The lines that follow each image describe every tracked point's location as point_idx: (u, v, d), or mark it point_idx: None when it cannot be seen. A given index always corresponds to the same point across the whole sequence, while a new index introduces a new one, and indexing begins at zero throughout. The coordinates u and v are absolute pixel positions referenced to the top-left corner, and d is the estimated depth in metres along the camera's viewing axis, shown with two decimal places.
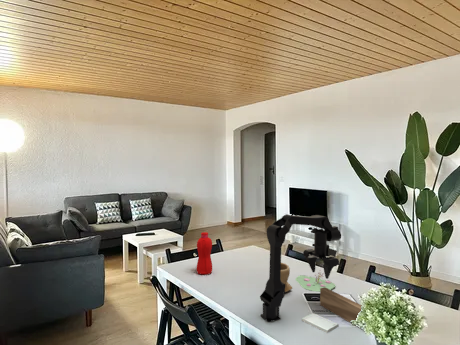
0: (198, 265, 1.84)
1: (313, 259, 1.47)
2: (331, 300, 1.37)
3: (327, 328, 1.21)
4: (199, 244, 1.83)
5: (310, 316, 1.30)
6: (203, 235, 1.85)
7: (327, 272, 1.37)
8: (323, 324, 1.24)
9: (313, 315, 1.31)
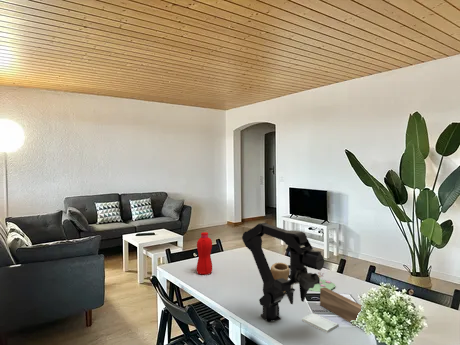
0: (198, 265, 1.84)
1: None
2: (331, 300, 1.37)
3: (327, 328, 1.21)
4: (199, 244, 1.83)
5: (310, 316, 1.30)
6: (203, 235, 1.85)
7: (288, 295, 1.20)
8: (323, 324, 1.24)
9: (313, 315, 1.31)
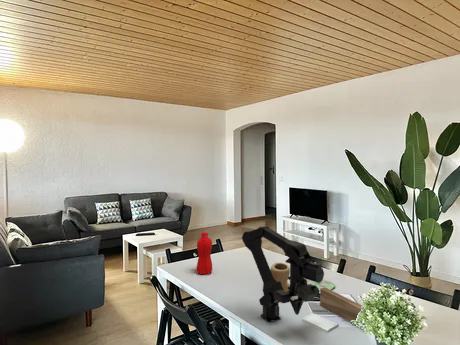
0: (198, 265, 1.84)
1: (298, 299, 1.21)
2: (331, 300, 1.37)
3: (327, 328, 1.21)
4: (199, 244, 1.83)
5: (310, 316, 1.30)
6: (203, 235, 1.85)
7: (293, 306, 1.21)
8: (323, 324, 1.24)
9: (313, 315, 1.31)
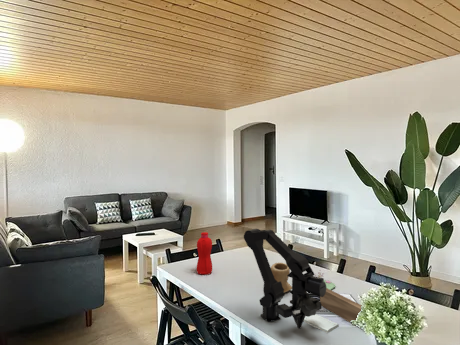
0: (198, 265, 1.84)
1: (300, 312, 1.22)
2: (331, 300, 1.37)
3: (327, 328, 1.21)
4: (199, 244, 1.83)
5: (310, 316, 1.30)
6: (203, 235, 1.85)
7: (295, 319, 1.22)
8: (323, 324, 1.24)
9: (313, 315, 1.31)
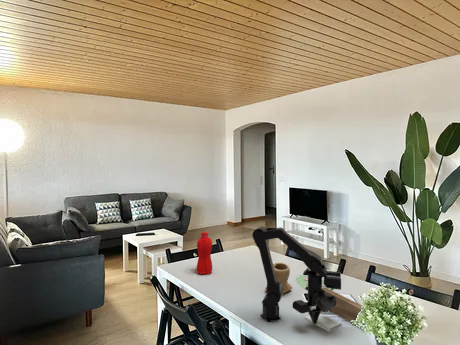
0: (198, 265, 1.84)
1: (316, 308, 1.25)
2: None
3: (330, 327, 1.22)
4: (199, 244, 1.83)
5: None
6: (203, 235, 1.85)
7: (310, 315, 1.25)
8: (326, 323, 1.25)
9: None
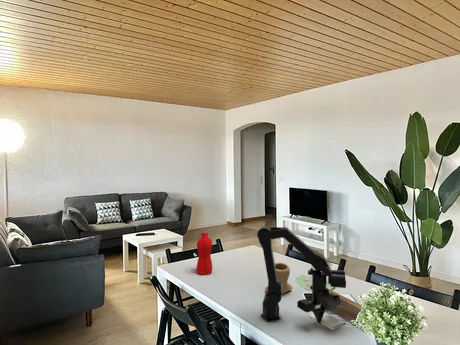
0: (198, 265, 1.84)
1: (320, 307, 1.26)
2: None
3: (333, 325, 1.23)
4: (199, 244, 1.83)
5: None
6: (203, 235, 1.85)
7: (315, 314, 1.26)
8: (329, 321, 1.26)
9: None
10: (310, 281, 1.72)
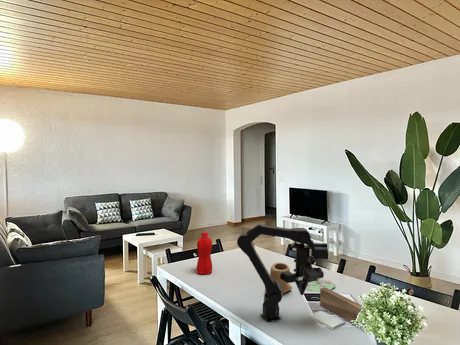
0: (198, 265, 1.84)
1: (303, 280, 1.29)
2: (331, 300, 1.37)
3: (333, 325, 1.23)
4: (199, 244, 1.83)
5: (317, 313, 1.33)
6: (203, 235, 1.85)
7: (298, 286, 1.29)
8: (329, 321, 1.26)
9: (320, 312, 1.34)
10: None
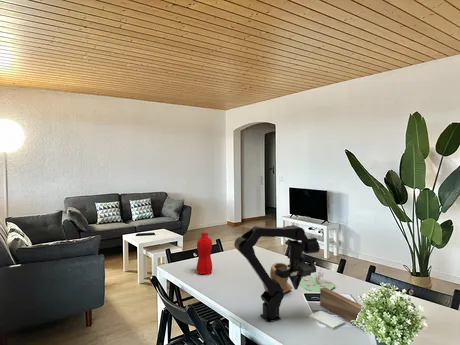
0: (198, 265, 1.84)
1: (297, 275, 1.35)
2: (331, 300, 1.37)
3: (333, 325, 1.23)
4: (199, 244, 1.83)
5: (317, 313, 1.33)
6: (203, 235, 1.85)
7: (292, 281, 1.35)
8: (330, 321, 1.26)
9: (320, 312, 1.34)
10: (310, 281, 1.72)
